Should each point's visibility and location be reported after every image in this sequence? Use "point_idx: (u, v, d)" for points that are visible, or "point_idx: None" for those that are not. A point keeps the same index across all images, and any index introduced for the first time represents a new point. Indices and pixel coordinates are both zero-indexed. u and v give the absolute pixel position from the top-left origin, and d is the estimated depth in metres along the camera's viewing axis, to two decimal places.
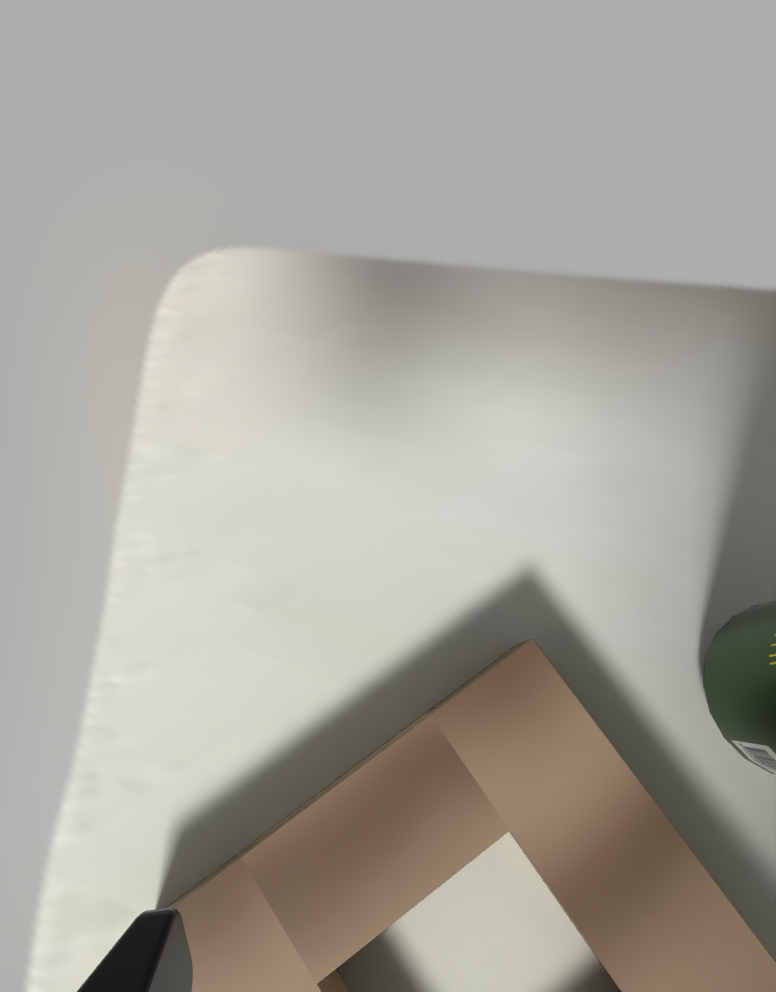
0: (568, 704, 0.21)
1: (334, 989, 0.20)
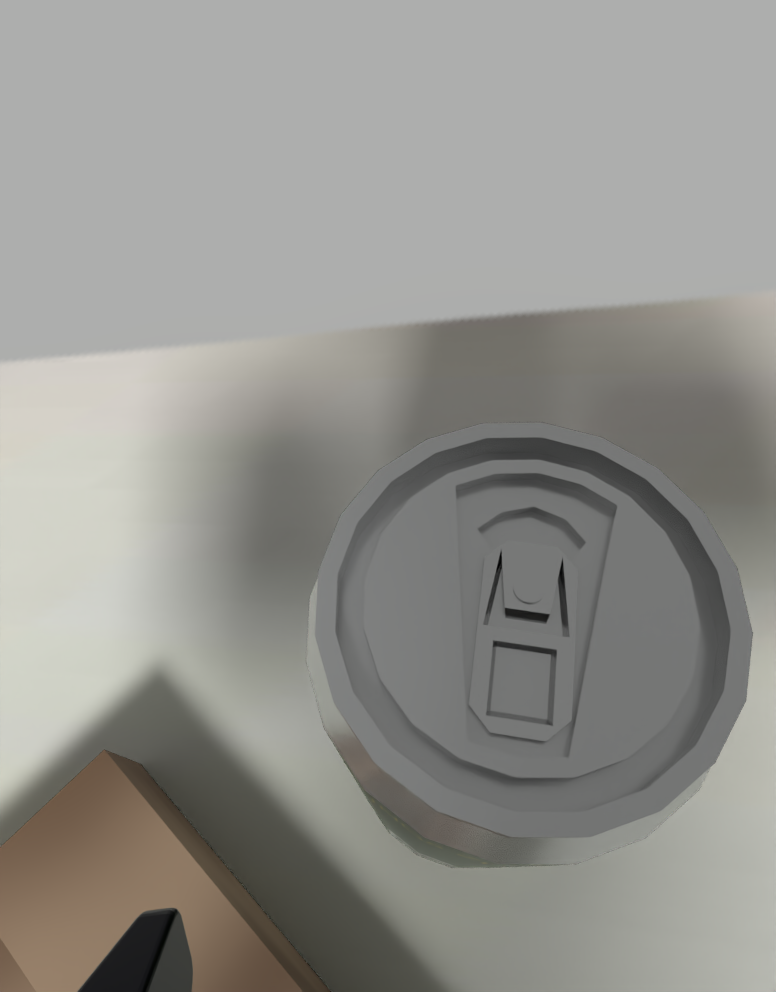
0: (147, 827, 0.16)
1: None
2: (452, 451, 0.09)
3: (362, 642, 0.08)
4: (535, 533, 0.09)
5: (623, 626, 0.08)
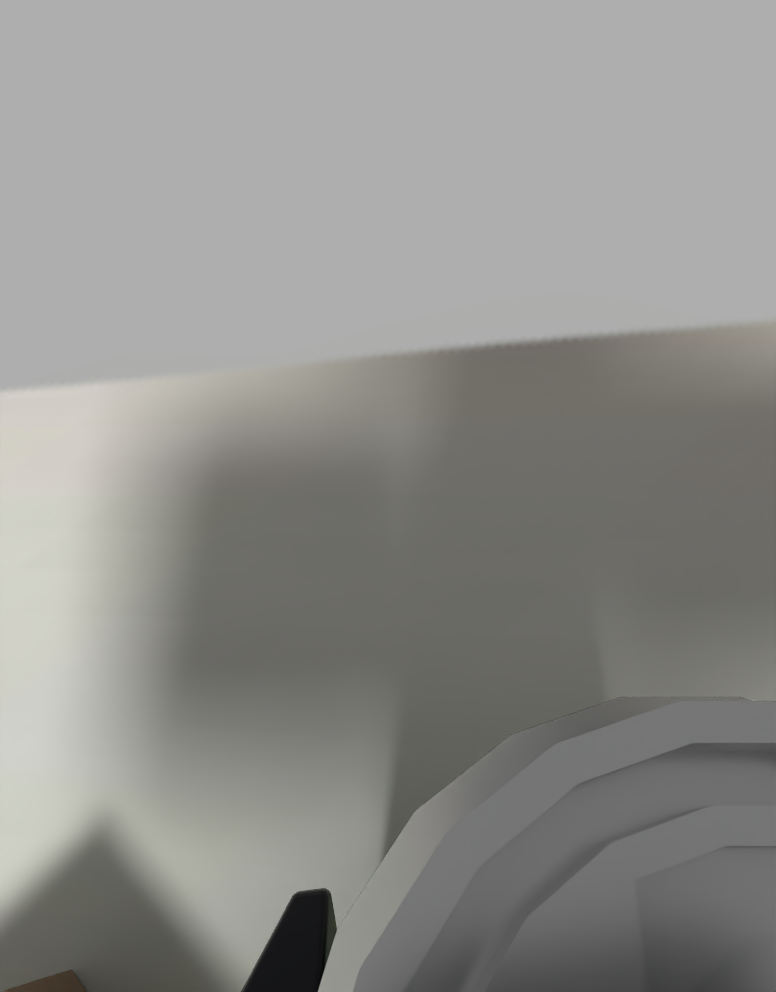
0: None
1: None
2: (611, 767, 0.04)
3: None
4: None
5: None
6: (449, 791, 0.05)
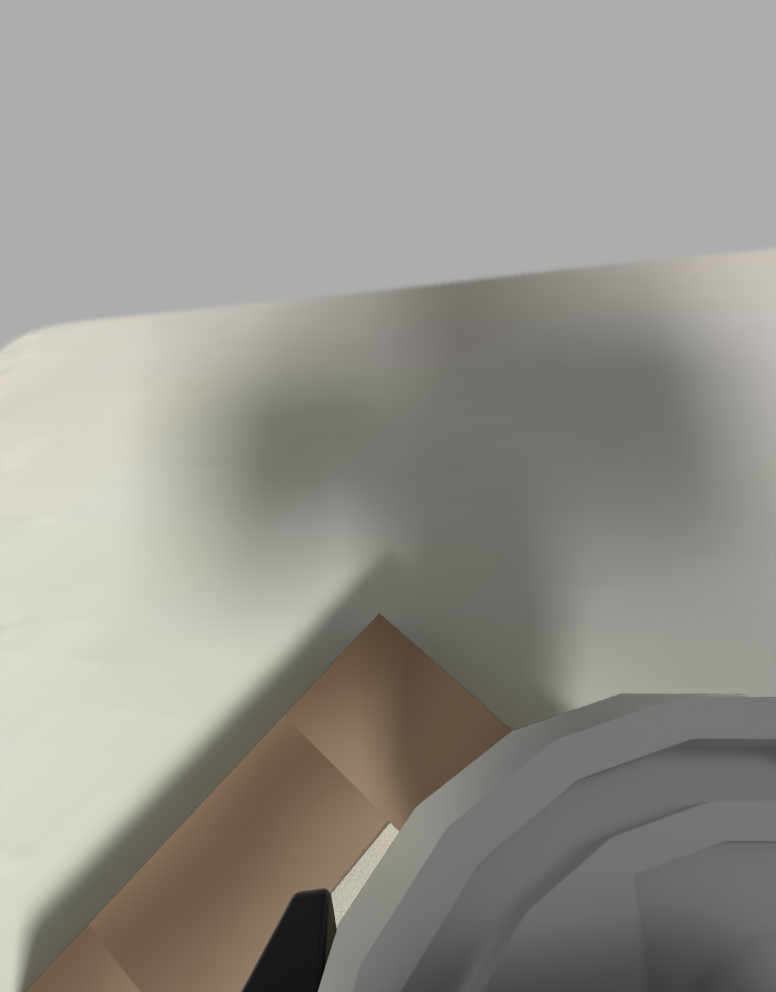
0: (427, 671, 0.19)
1: None
2: (611, 762, 0.04)
3: None
4: None
5: None
6: (450, 787, 0.05)
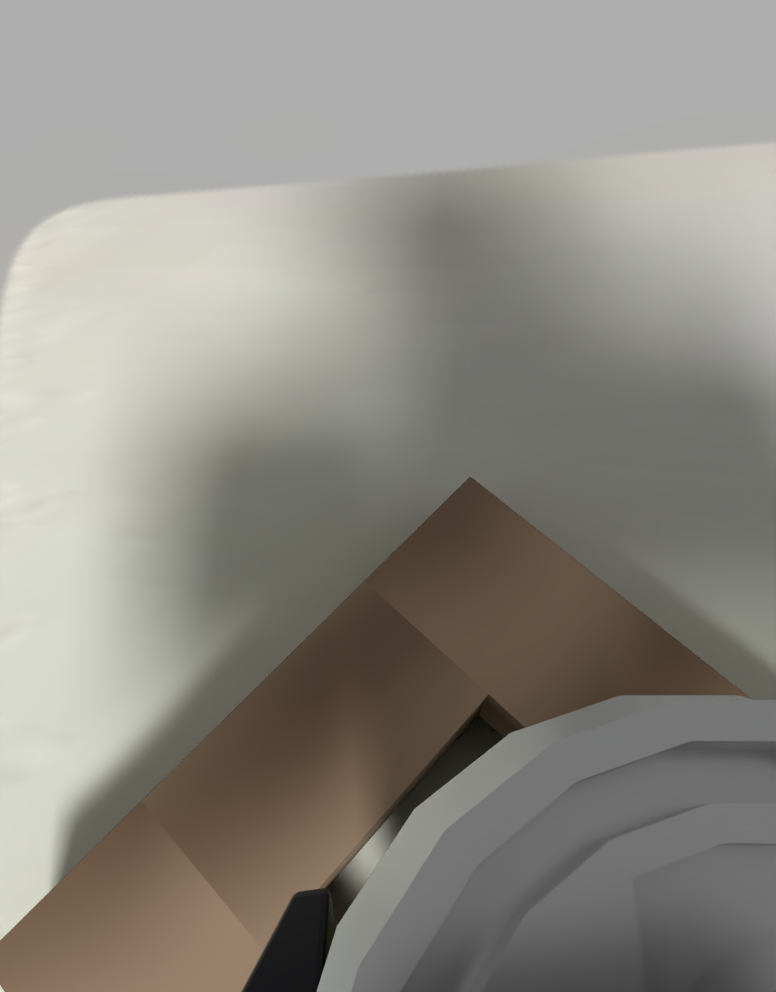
0: (528, 537, 0.17)
1: None
2: (610, 764, 0.04)
3: None
4: None
5: None
6: (449, 789, 0.05)
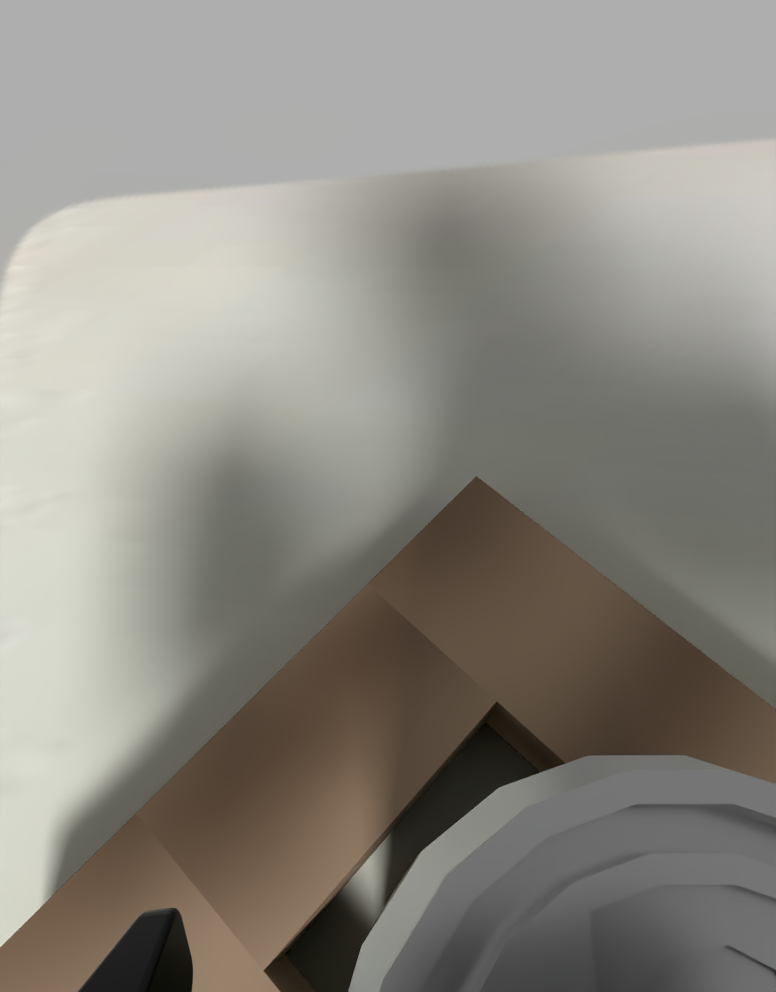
0: (536, 538, 0.16)
1: (298, 991, 0.14)
2: (574, 822, 0.05)
3: None
4: None
5: None
6: (449, 835, 0.06)
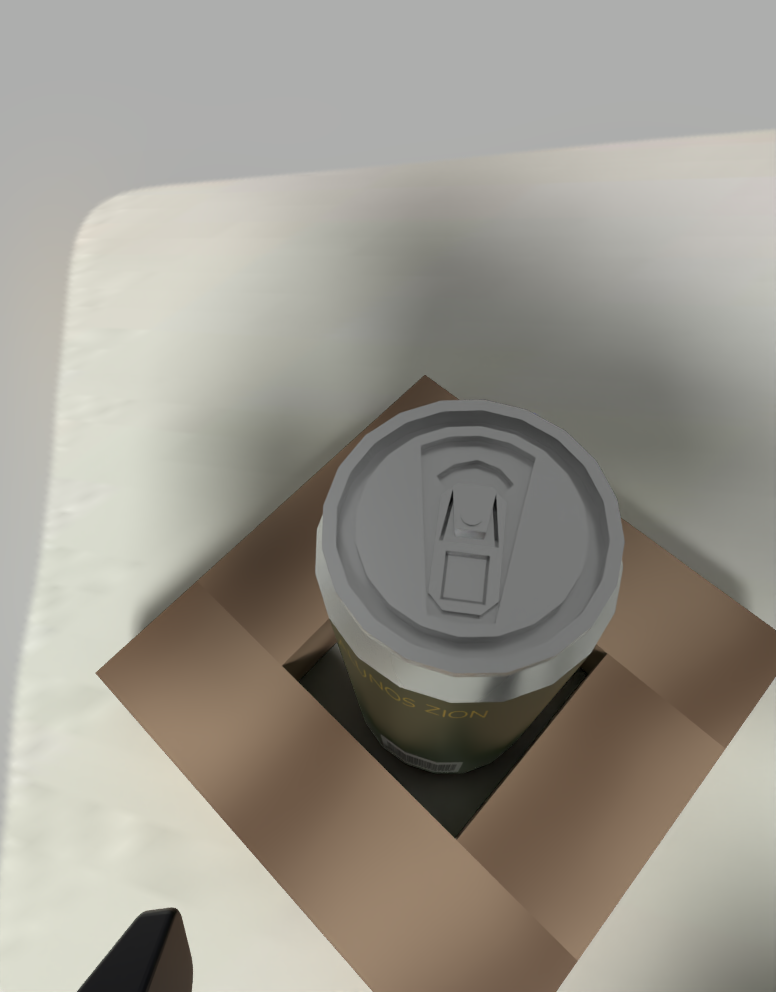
0: None
1: None
2: (419, 421, 0.13)
3: (354, 554, 0.12)
4: (478, 478, 0.12)
5: (535, 538, 0.12)
6: None
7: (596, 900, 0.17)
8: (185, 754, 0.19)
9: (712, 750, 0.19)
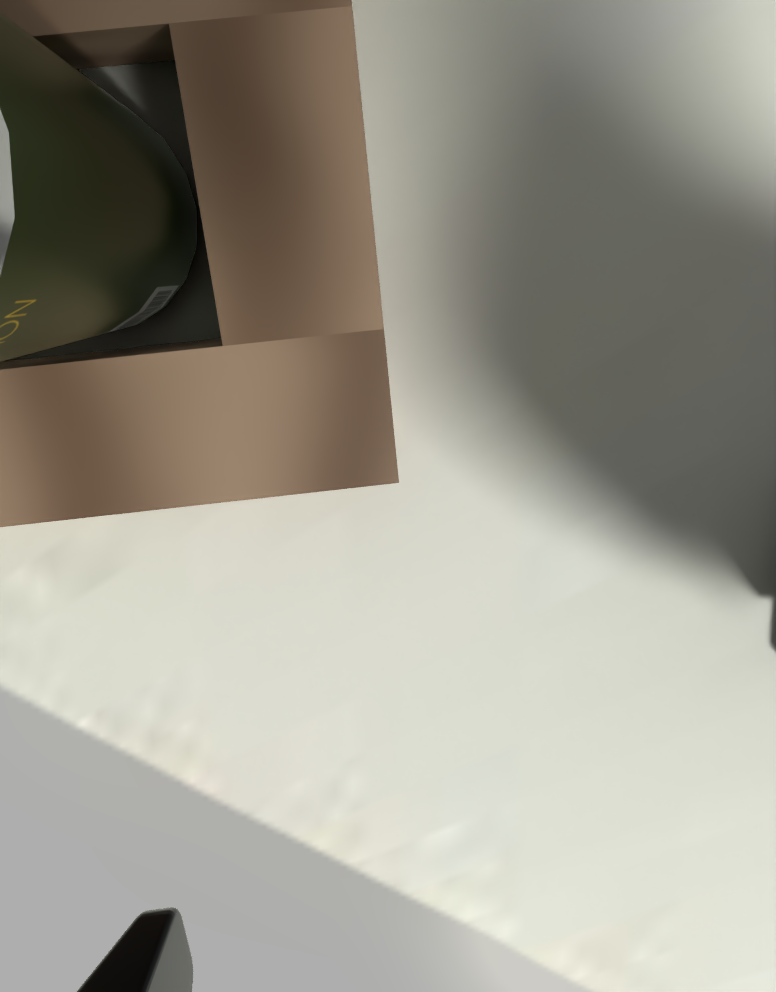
0: None
1: None
2: None
3: None
4: None
5: None
6: None
7: (360, 271, 0.16)
8: None
9: (342, 22, 0.15)
